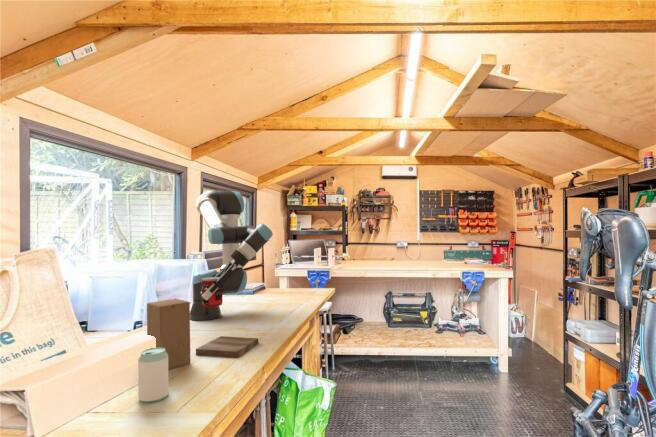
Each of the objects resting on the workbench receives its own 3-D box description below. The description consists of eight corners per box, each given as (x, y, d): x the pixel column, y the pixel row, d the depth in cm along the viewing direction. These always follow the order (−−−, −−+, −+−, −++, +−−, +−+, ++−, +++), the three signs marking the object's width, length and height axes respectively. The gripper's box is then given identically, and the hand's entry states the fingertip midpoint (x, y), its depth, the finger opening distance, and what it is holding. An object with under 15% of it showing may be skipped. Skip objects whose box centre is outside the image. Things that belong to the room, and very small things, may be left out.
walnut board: (220, 341, 145) (220, 336, 145) (258, 343, 141) (258, 338, 141) (195, 354, 130) (195, 348, 130) (237, 357, 125) (237, 351, 125)
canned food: (201, 304, 154) (200, 277, 154) (221, 302, 157) (220, 276, 157) (202, 307, 147) (202, 279, 147) (223, 305, 150) (223, 278, 150)
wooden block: (191, 363, 121) (190, 301, 122) (159, 372, 114) (159, 306, 114) (177, 356, 128) (176, 298, 129) (146, 365, 121) (146, 302, 121)
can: (165, 402, 94) (164, 353, 94) (134, 405, 92) (134, 356, 92) (171, 390, 100) (170, 345, 101) (142, 393, 99) (142, 347, 99)
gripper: (254, 262, 149) (212, 307, 142) (245, 259, 168) (208, 298, 161) (240, 249, 147) (197, 294, 140) (232, 247, 166) (195, 287, 159)
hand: (203, 296), depth 151 cm, fingers closed on canned food, 8 cm apart
